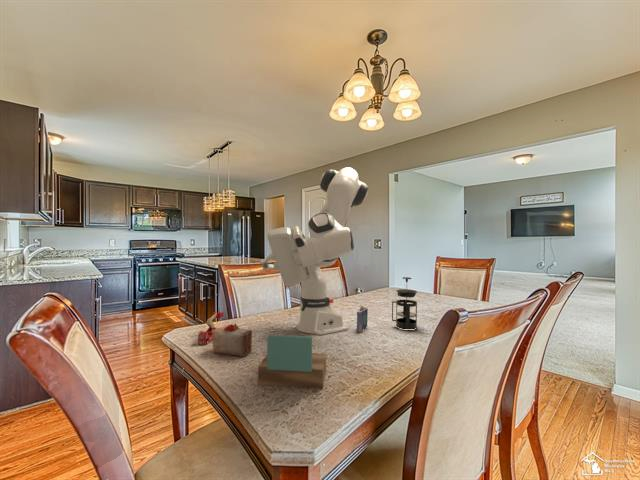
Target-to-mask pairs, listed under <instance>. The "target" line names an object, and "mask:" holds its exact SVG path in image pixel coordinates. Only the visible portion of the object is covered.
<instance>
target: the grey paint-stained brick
mask: <svg viewBox="0 0 640 480" xmlns="http://www.w3.org/2000/svg"><path fill="white" fill-rule="evenodd" d="M215 328H216V329H215V330H214V331H212V337H213V340H212V349H213V350H212V352H213V354H218V355H220V354H221V355H227V356H229V355H231V356H235V357H242V358H244V357H246V356H248V355H249V354H251V352H252V351H253V346H252V344H253V342H252V341H253V330H251V329H247V328H246V329H245V328H241V327H239V326H238V325H237V323H236V322H235V323H234V324H232V323H231V324H229V325H226V327H223V326H221V327H220V326H219V327H215Z"/></svg>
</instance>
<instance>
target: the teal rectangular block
mask: <svg viewBox="0 0 640 480" xmlns="http://www.w3.org/2000/svg"><path fill="white" fill-rule="evenodd" d="M266 349H267V351H266V355H267V369H270V370H287V371H305V372H311V371H312V353H313V336H306V335H305V336H304V335H284V334H283V335H282V334H281V335H279V334H268V335H267V348H266Z"/></svg>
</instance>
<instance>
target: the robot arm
mask: <svg viewBox="0 0 640 480" xmlns="http://www.w3.org/2000/svg"><path fill="white" fill-rule="evenodd" d="M319 184H320V185H319V187H320V189H321V190H322V191H323V192H325V193H326V201H325V202H324V204H323V206H322V207H321V209H320V212H319V213H317V214H315V215H313V216H312V217H311V218H310V219H309V220H308V222H307V226H308V232H309V235H310V236H309V237H306V235H304V233H303V231H302V230H301V228H300V227H299V226H298V225H293V226H292V227H291V228H290V227H286V226H284V227H279V228H273V229H271V230H269V231H268V232H267V235H266V236H267V237H266V238H267V241H268V243H269V246H270V249H271V251H272V253H269V254H268V255H267V256H266V258H262V259H260V264H261V266H262V269H263V271H266V270H272V271H273V270H274V271H279V273H280V276H281V279H282V281H283V285H284V287H287V288H291V287H294V286H297V285H299V284H301V285H300V286H301V289H300V290H301V294H300V295H301V296H300V300H299V309H300V316H299V320H298V325H297V330H298V331H299V332H302V333H306V334H314V335H319V336H321V335H327V334H332V333H337V332H338V333H339V332H344V331H348V330H349V327H348V324H346V323H345V322H343V321H344V320H343V316H342V314H341V313H340V312H339V311H338V310H337V309H336V308H335V307H334V306H332V305H331V304H333V303H334V299H333V298H332V297H328V296H327V279H326V276H325V275H324V274H323V273H322V269H321V268H327V267H331V266H333V265H334V264H335V263H336V262H337V260H338V258H341V257H344V256H347V255H348V254H350V253H351V252H353V251H354V248H355V244H354V238H353V232H352V230H351V229H350V227H348V226H347V227H346V225H347V221H348V218H349V214H350V210H351V208H353V207H356V206H359V205H362V203H364V201H365V200H366V199H367V197H368V195H369V186H368V185H367V184H366V182H363V181H361V180H360V179H359V174H358V172H357V171H356V170H355V169H353V167H344V168H343V167H342V168H341V169H340V170H338V171H337V170H336V169H330V168H329V169H326V170H325V172H324V173H323V174H322V176H321V177H320V181H319ZM270 261H272V262H273V261H275V262H273V263H274V264H272V263H269V262H270Z"/></svg>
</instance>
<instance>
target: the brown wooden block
mask: <svg viewBox="0 0 640 480" xmlns="http://www.w3.org/2000/svg"><path fill="white" fill-rule="evenodd" d="M257 371H258V372H257V385H265V386H278V387H279V386H281V387H293V386H294V387H295V388H298V387H299V388H309V387H312V388H313V389H324V384H325V378H326V372H327V353H316V352H315V353H313V352H312V371H311V372H305V371H287V370H270V369H267V354H266V355H265V356H264V358H262V360H261V362H260V363H259V364H258V367H257Z"/></svg>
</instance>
